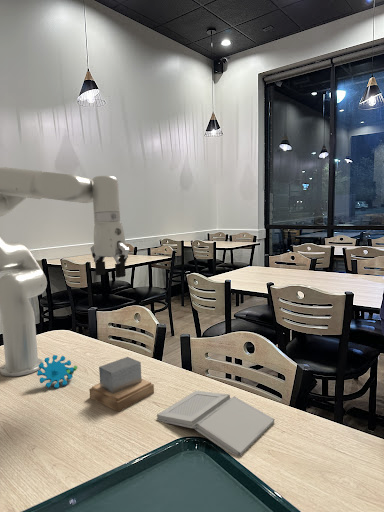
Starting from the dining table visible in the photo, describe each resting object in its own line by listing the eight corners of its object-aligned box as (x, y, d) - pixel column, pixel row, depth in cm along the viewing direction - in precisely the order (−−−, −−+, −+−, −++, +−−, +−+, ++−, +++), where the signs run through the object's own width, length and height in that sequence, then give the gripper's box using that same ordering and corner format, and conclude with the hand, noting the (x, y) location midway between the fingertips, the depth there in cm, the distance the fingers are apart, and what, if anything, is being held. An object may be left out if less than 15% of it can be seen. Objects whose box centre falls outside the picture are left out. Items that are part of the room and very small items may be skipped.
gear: (37, 388, 96) (37, 355, 102) (35, 397, 100) (34, 364, 106) (79, 384, 102) (76, 352, 108) (75, 392, 106) (72, 361, 112)
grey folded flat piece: (275, 424, 79) (275, 409, 79) (239, 460, 68) (239, 442, 67) (196, 396, 94) (195, 382, 93) (156, 421, 82) (155, 406, 82)
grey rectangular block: (128, 375, 99) (127, 356, 99) (141, 381, 95) (140, 362, 95) (100, 386, 93) (99, 366, 93) (112, 394, 89) (111, 373, 88)
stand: (89, 397, 94) (89, 386, 93) (125, 381, 103) (124, 371, 102) (118, 411, 86) (117, 400, 86) (154, 392, 95) (153, 382, 95)
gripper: (136, 217, 102) (139, 276, 103) (100, 219, 113) (103, 272, 114) (115, 217, 96) (118, 279, 98) (79, 219, 107) (83, 275, 109)
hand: (110, 275), depth 106 cm, fingers open, 9 cm apart
